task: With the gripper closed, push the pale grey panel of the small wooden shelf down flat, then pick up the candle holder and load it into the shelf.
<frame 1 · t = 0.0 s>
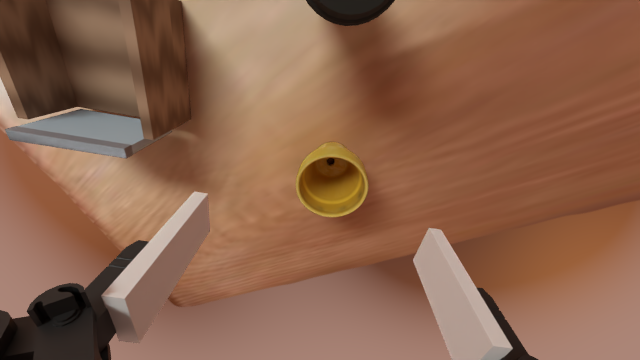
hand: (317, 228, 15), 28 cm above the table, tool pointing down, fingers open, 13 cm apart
plant pot: (331, 159, 44), on the table
pale grey panel: (101, 130, 33), point 8 cm above the table, hinge at 0.0°
small wooden shelf: (130, 63, 37), on the table
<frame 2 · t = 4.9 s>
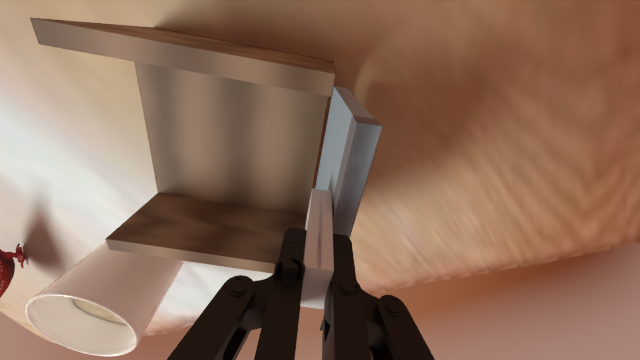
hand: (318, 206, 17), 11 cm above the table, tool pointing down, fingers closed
decorative bird figurine: (23, 243, 35), on the table
candle holder: (161, 238, 34), on the table
pale grey panel: (332, 186, 19), point 8 cm above the table, hinge at 6.0°, touching gripper
small wooden shelf: (253, 135, 26), on the table
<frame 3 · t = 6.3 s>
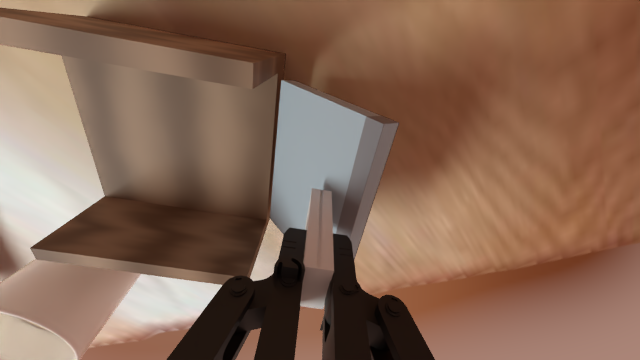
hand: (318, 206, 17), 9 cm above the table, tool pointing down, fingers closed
candle holder: (120, 243, 32), on the table
pale grey panel: (313, 185, 19), point 6 cm above the table, hinge at 40.0°, touching gripper
small wooden shelf: (206, 134, 24), on the table
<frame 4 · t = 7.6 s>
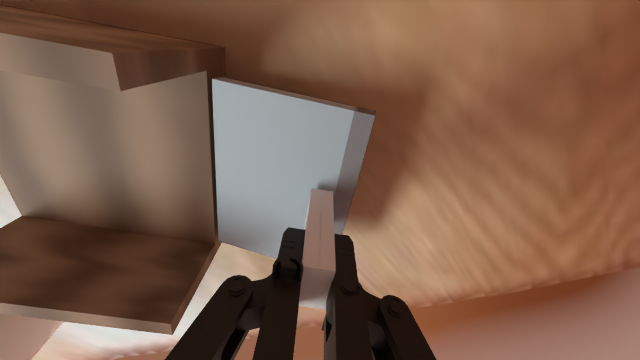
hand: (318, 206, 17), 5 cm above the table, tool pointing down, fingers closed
candle holder: (61, 264, 28), on the table
pale grey panel: (283, 187, 18), point 3 cm above the table, hinge at 78.7°, touching gripper
small wooden shelf: (141, 143, 20), on the table
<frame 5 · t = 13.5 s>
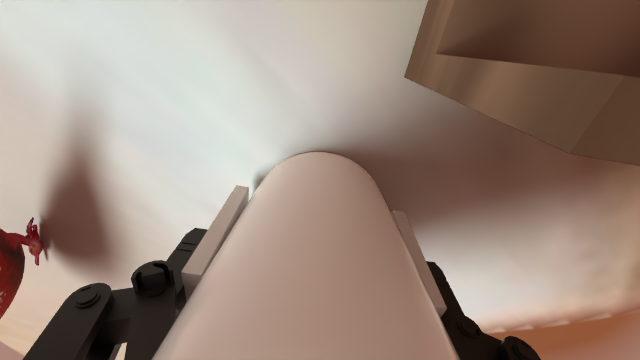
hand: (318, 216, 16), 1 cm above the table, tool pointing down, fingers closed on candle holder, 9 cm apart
decorative bird figurine: (40, 217, 18), on the table
candle holder: (318, 205, 17), on the table, touching gripper
when the fingers open (5 cm above the table, at t = 20.0 s): candle holder drops 1 cm, resting on small wooden shelf.
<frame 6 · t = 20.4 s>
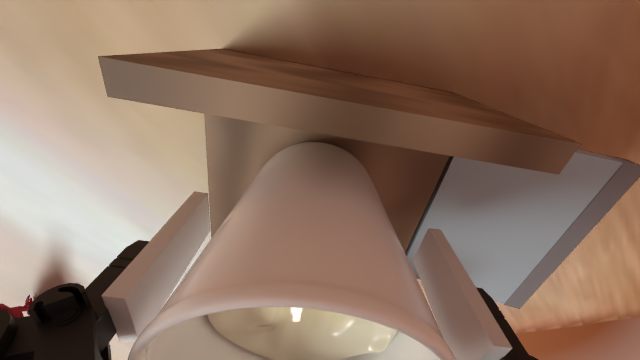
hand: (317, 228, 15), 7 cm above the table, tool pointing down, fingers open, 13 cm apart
decorative bird figurine: (34, 293, 30), on the table
candle holder: (314, 193, 18), point 3 cm above the table, touching small wooden shelf
pale grey panel: (493, 226, 19), point 3 cm above the table, hinge at 78.8°
small wooden shelf: (332, 178, 21), on the table
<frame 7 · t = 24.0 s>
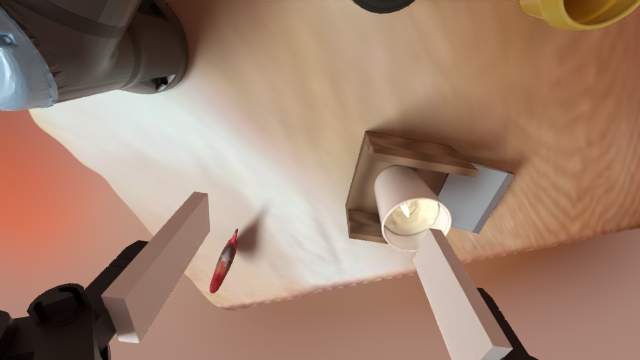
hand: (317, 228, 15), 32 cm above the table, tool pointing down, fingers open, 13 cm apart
decorative bird figurine: (235, 237, 58), on the table
candle holder: (396, 184, 46), point 3 cm above the table, touching small wooden shelf
pale grey panel: (466, 197, 47), point 3 cm above the table, hinge at 78.8°
small wooden shelf: (399, 178, 49), on the table
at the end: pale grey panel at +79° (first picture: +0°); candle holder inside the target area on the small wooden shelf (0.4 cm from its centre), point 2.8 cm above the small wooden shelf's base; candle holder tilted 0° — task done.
